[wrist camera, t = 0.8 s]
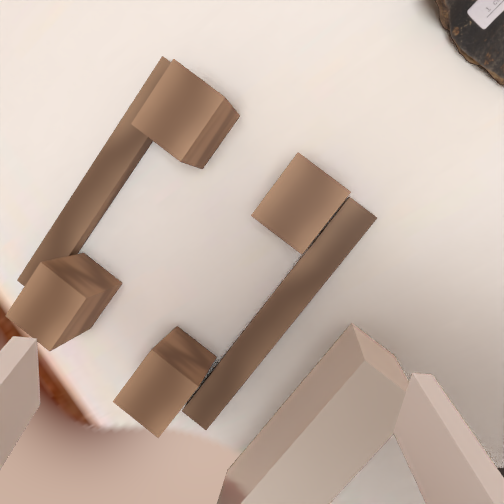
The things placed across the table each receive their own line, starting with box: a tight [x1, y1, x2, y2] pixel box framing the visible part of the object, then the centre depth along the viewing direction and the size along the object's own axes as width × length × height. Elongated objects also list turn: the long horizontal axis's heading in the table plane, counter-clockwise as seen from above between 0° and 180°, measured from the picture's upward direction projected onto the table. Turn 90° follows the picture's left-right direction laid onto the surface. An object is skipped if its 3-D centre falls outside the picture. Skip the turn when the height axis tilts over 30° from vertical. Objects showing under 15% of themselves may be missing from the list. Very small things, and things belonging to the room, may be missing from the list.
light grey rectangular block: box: [217, 323, 409, 504], centre depth 37 cm, size 5×20×10 cm, turn 143°
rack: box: [6, 56, 377, 437], centre depth 38 cm, size 24×26×7 cm
